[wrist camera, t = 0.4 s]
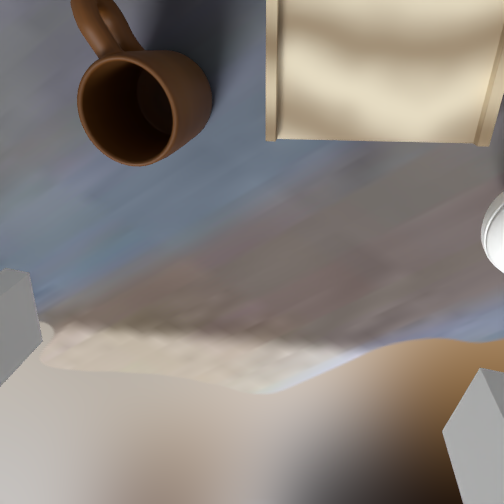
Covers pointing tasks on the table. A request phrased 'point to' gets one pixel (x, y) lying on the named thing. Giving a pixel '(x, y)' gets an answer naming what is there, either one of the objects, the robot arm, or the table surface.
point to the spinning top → (494, 232)
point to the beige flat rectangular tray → (384, 70)
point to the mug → (136, 91)
